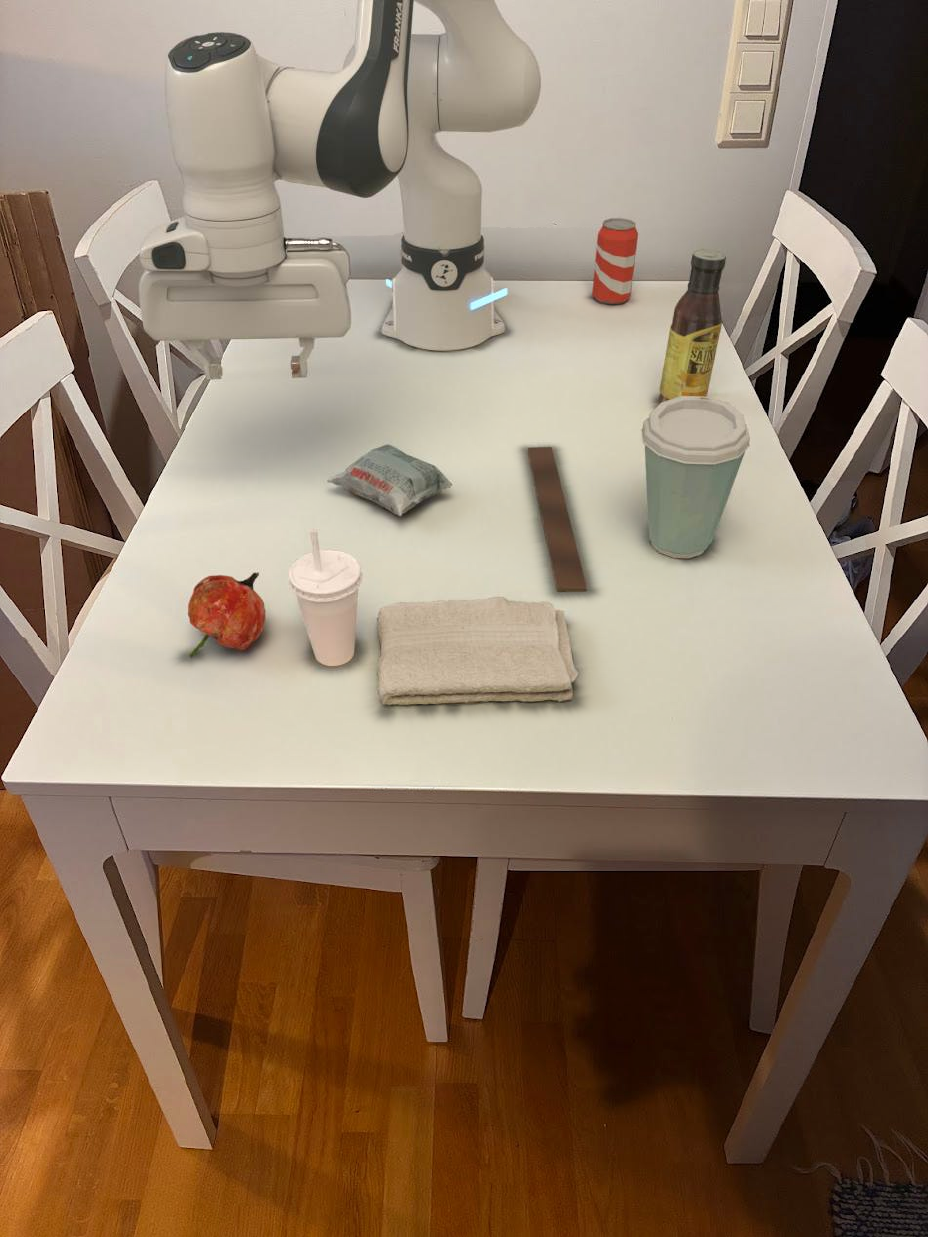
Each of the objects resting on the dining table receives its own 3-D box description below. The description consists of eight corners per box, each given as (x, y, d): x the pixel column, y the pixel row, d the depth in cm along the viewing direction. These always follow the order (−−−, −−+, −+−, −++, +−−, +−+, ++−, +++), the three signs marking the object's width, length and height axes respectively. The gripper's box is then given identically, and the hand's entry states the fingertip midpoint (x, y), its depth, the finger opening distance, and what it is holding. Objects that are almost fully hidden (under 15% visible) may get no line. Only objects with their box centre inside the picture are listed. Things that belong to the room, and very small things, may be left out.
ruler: (527, 450, 116) (527, 447, 115) (551, 450, 116) (551, 446, 115) (556, 591, 94) (557, 588, 94) (586, 590, 94) (586, 587, 94)
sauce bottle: (684, 421, 121) (711, 268, 109) (647, 404, 125) (669, 253, 112) (715, 405, 125) (745, 255, 112) (678, 389, 128) (703, 242, 115)
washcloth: (580, 704, 82) (584, 679, 80) (377, 713, 81) (375, 687, 79) (561, 617, 91) (563, 592, 89) (377, 624, 90) (375, 599, 88)
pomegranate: (226, 693, 86) (299, 616, 85) (163, 657, 81) (239, 575, 80) (209, 651, 92) (278, 578, 91) (149, 614, 87) (221, 537, 86)
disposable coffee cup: (718, 580, 96) (747, 452, 86) (615, 558, 99) (632, 432, 89) (732, 525, 103) (760, 402, 94) (637, 506, 106) (654, 384, 96)
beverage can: (620, 309, 150) (629, 232, 142) (585, 300, 152) (591, 224, 144) (636, 297, 153) (646, 221, 146) (601, 289, 156) (609, 214, 148)
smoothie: (292, 640, 88) (273, 517, 79) (356, 623, 90) (345, 501, 81) (311, 684, 84) (293, 559, 75) (378, 665, 86) (368, 541, 77)
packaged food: (401, 533, 102) (400, 494, 99) (327, 494, 108) (323, 456, 105) (453, 501, 107) (454, 463, 104) (380, 465, 113) (378, 429, 110)
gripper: (349, 226, 90) (359, 361, 99) (136, 229, 90) (165, 365, 98) (346, 248, 86) (357, 387, 95) (121, 252, 85) (153, 392, 94)
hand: (257, 376), depth 96 cm, fingers open, 7 cm apart
